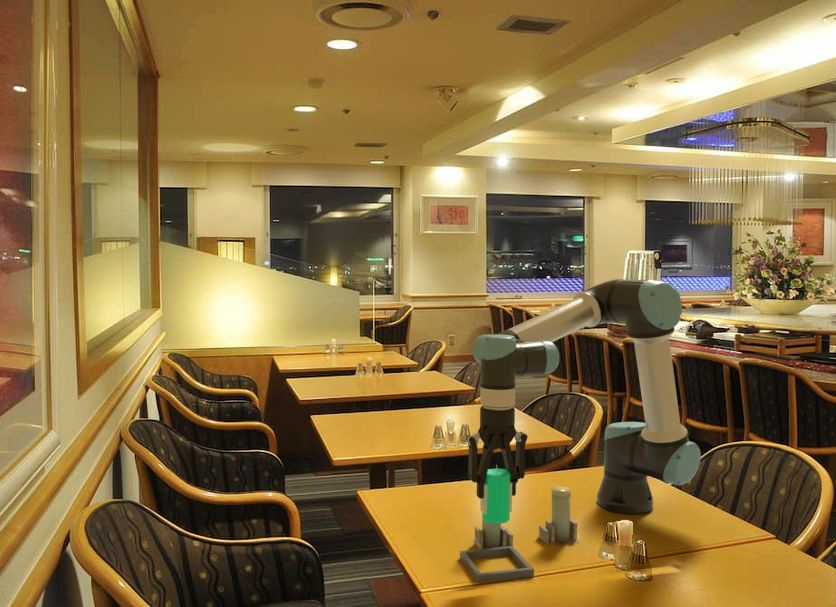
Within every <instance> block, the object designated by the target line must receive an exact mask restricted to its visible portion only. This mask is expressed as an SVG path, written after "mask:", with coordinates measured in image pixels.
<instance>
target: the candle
mask: <svg viewBox="0 0 836 607" xmlns="http://www.w3.org/2000/svg"><path fill="white" fill-rule="evenodd" d="M495 466H496V467H495V468H488V472H487V476H486V480H485V483H484V484H486V485H487V514H485V515H484V514H483V512H482V511H481V519H482V518H483V520H484V521H486V522H488V523H494V524H501V525H502V524H504V523H508V522H509V521H510V520H511V519H510V518H511V517H510V516H511V515H510V513H511V512H510V473H509V472H508V471H507V470H506V468H498V465H497V464H496V465H495Z"/></svg>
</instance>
